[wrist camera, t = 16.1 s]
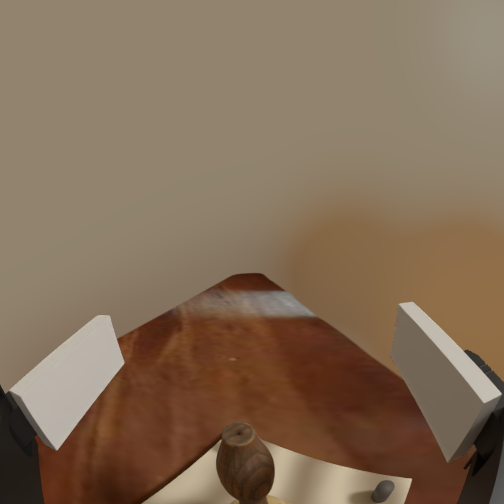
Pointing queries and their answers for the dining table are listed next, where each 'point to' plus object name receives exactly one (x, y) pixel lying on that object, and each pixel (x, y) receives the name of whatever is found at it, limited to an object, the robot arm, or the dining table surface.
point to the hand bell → (246, 466)
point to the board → (287, 483)
